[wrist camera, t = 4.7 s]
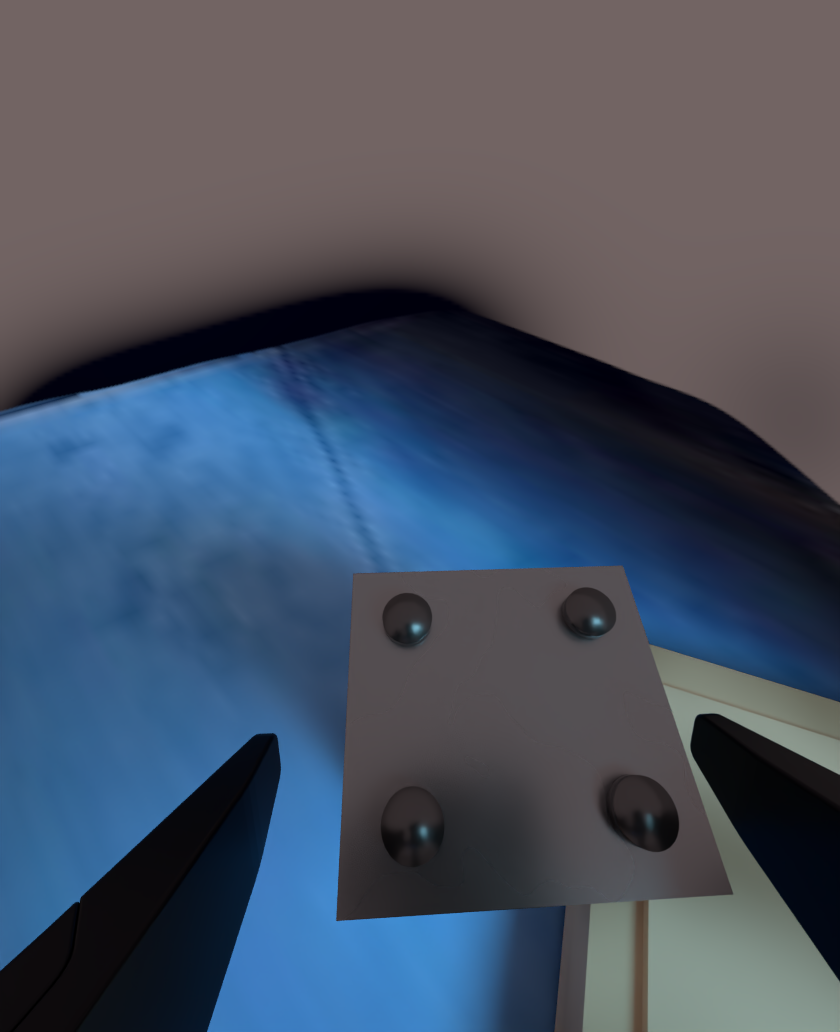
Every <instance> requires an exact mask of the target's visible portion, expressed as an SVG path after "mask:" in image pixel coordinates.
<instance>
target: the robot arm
mask: <svg viewBox="0 0 840 1032" xmlns="http://www.w3.org/2000/svg"><path fill="white" fill-rule="evenodd" d="M690 749H691V753H692V756H693V758H694V760H695V762H696V763H697V765H698V767H699V769H700V770H701V772H702V774H703V775H704V777H705V779H706V780H707V782H708V784H709V786H710V787H711V789H712V791H713V792H714V794H715V796H716V798H717V799H718V801H719V803H720V804H721V806H722V808H723V810H724V811H725V813H726V815H727V816H728V818H729V820H730V821H731V823H732V825H733V826H734V828H735V830H736V831H737V833H738V835H739V836H740V838H741V839H742V841H743V842H744V844H745V845H746V847H747V848H748V850H749V851H750V853H751V854H752V856H753V857H754V859H755V860H756V861H757V863H758V864H759V866H760V867H761V869H762V870H763V872H764V873H765V874H766V876H767V877H768V879H769V880H770V882H771V883H772V885H773V886H774V888H775V889H776V890H777V892H778V893H779V895H780V896H781V898H782V899H783V901H784V902H785V903H786V905H787V906H788V908H789V909H790V911H791V912H792V914H793V915H794V916H795V918H796V919H797V921H798V922H799V924H800V925H801V927H802V928H803V930H804V931H805V932H806V934H807V935H808V937H809V938H810V940H811V941H812V943H813V944H814V945H815V947H816V948H817V950H818V951H819V953H820V954H821V956H822V957H823V958H824V960H825V961H826V963H827V964H828V966H829V967H830V969H831V970H832V972H833V973H834V974H835V976H836V977H837V979H838V980H839V982H840V775H839V774H837V773H835V772H833V771H831V770H829V769H827V768H825V767H823V766H821V765H819V764H817V763H815V762H813V761H811V760H809V759H807V758H805V757H804V756H802V755H800V754H798V753H796V752H794V751H792V750H790V749H788V748H786V747H784V746H782V745H780V744H778V743H776V742H774V741H772V740H770V739H768V738H766V737H764V736H762V735H760V734H758V733H756V732H754V731H752V730H750V729H748V728H746V727H744V726H742V725H740V724H738V723H736V722H734V721H732V720H730V719H728V718H726V717H724V716H722V715H720V714H716V713H708V714H699V715H697V716H696V717H695V720H694V725H693V731H692V736H691V742H690ZM280 773H281V763H280V754H279V746H278V738H277V736H276V735H275V734H274V733H267V734H256V735H255V736H253V737H252V738H251V739H250V740H249V741H248V742H247V743H246V744H245V745H243V746H242V747H241V748H240V749H239V750H238V751H237V752H236V753H235V754H234V755H233V756H232V757H231V758H230V759H228V760H227V761H226V762H225V763H224V764H223V765H222V766H221V767H220V768H219V769H218V770H217V771H216V772H215V773H213V774H212V775H211V776H210V777H209V778H208V779H207V780H206V781H205V782H204V783H203V784H202V785H201V786H200V787H198V788H197V789H196V790H195V791H194V792H193V793H192V794H191V795H190V796H189V797H188V798H187V799H186V800H185V801H183V802H182V803H181V804H180V805H179V806H178V807H177V808H176V809H175V810H174V811H173V812H172V813H171V814H170V815H168V816H167V817H166V818H165V819H164V820H163V821H162V822H161V823H160V824H159V825H158V826H157V827H156V828H155V829H153V830H152V831H151V832H150V833H149V834H148V835H147V836H146V837H145V838H144V839H143V840H142V841H141V842H140V843H138V844H137V845H136V846H135V847H134V848H133V849H132V850H131V851H130V852H129V853H128V854H127V855H126V856H125V857H124V858H122V859H121V860H120V861H119V862H118V863H117V864H116V865H115V866H114V867H113V868H112V869H111V870H110V871H109V872H107V873H106V874H105V875H104V876H103V877H102V878H101V879H100V880H99V881H98V882H97V883H96V884H95V885H94V886H92V887H91V888H90V889H89V890H88V891H87V892H86V893H85V894H84V895H83V896H82V897H81V899H80V903H79V902H75V903H74V904H73V905H72V906H71V907H70V908H69V909H68V910H66V911H65V912H64V913H63V914H62V915H61V916H60V917H59V918H58V919H57V920H56V921H55V922H54V923H53V924H51V925H50V926H49V927H48V928H47V929H46V930H45V931H44V932H43V933H42V934H41V935H39V936H38V937H37V938H36V939H35V940H34V941H33V942H32V943H31V944H30V945H28V946H27V947H26V948H25V949H24V950H23V951H22V952H21V953H20V954H19V955H17V956H16V957H15V958H14V959H13V960H12V961H11V962H10V963H9V964H8V965H6V966H5V967H4V968H3V969H2V970H1V971H0V1032H207V1030H208V1027H209V1024H210V1021H211V1018H212V1014H213V1011H214V1008H215V1005H216V1002H217V999H218V996H219V993H220V990H221V986H222V983H223V980H224V977H225V974H226V971H227V968H228V965H229V962H230V958H231V955H232V952H233V949H234V946H235V943H236V940H237V937H238V934H239V930H240V927H241V924H242V921H243V918H244V915H245V912H246V909H247V906H248V902H249V899H250V896H251V893H252V890H253V887H254V884H255V881H256V877H257V874H258V871H259V867H260V863H261V859H262V855H263V851H264V847H265V842H266V838H267V833H268V829H269V824H270V820H271V815H272V811H273V806H274V802H275V797H276V793H277V788H278V784H279V779H280Z"/></svg>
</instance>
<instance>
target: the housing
mask: <svg viewBox="0 0 840 1032" xmlns="http://www.w3.org/2000/svg"><path fill="white" fill-rule="evenodd" d="M718 895H733V891H732V888H731V885H730V882H729V879H728V876H727V874H726V871H725V868H724V865H723V862H722V859H721V856H720V853H719V850H718V847H717V844H716V841H715V838H714V835H713V832H712V829H711V826H710V823H709V820H708V817H707V814H706V811H705V808H704V805H703V802H702V799H701V796H700V793H699V791H698V788H697V785H696V782H695V779H694V776H693V773H692V770H691V767H690V764H689V761H688V758H687V755H686V752H685V749H684V746H683V743H682V740H681V737H680V734H679V731H678V728H677V725H676V722H675V719H674V716H673V713H672V710H671V708H670V705H669V702H668V699H667V696H666V693H665V690H664V687H663V684H662V681H661V678H660V675H659V672H658V669H657V666H656V663H655V660H654V657H653V654H652V651H651V648H650V645H649V642H648V639H647V636H646V633H645V630H644V627H643V625H642V622H641V619H640V616H639V613H638V610H637V607H636V604H635V601H634V598H633V595H632V592H631V589H630V586H629V583H628V580H627V577H626V574H625V571H624V568H623V566H598V567H563V568H529V569H495V570H460V571H426V572H391V573H357V574H353V592H352V613H351V633H350V653H349V674H348V694H347V714H346V734H345V755H344V775H343V795H342V816H341V836H340V856H339V877H338V897H337V917H336V921H342V920H357V919H372V918H387V917H402V916H417V915H433V914H448V913H463V912H478V911H493V910H508V909H523V908H538V907H553V906H568V905H583V904H598V903H613V902H628V901H643V900H658V899H673V898H688V897H703V896H718Z"/></svg>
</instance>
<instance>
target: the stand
mask: <svg viewBox="0 0 840 1032" xmlns="http://www.w3.org/2000/svg"><path fill="white" fill-rule="evenodd" d="M649 645H650V644H649ZM650 648H651V651H652V654H653V657H654V660H655V663H656V666H657V669H658V672H659V675H660V678H661V681H662V684H663V687H664V690H665V693H666V696H667V699H668V702H669V705H670V708H671V710H672V713H673V716H674V719H675V722H676V725H677V728H678V731H679V734H680V737H681V740H682V743H683V746H684V749H685V752H686V755H687V758H688V761H689V764H690V767H691V770H692V773H693V776H694V779H695V782H696V785H697V788H698V791H699V793H700V796H701V799H702V802H703V805H704V808H705V811H706V814H707V817H708V820H709V823H710V826H711V829H712V832H713V835H714V838H715V841H716V844H717V847H718V850H719V853H720V856H721V859H722V862H723V865H724V868H725V871H726V874H727V876H728V879H729V882H730V885H731V888H732V891H733V895H718V896H703V897H688V898H673V899H658V900H643V901H628V902H613V903H598V904H583V905H568V906H566V909H565V920H564V931H563V942H562V954H561V965H560V976H559V987H558V999H557V1010H556V1021H555V1032H840V982H839V980H838V979H837V977H836V976H835V974H834V973H833V972H832V970H831V969H830V967H829V966H828V964H827V963H826V961H825V960H824V958H823V957H822V956H821V954H820V953H819V951H818V950H817V948H816V947H815V945H814V944H813V943H812V941H811V940H810V938H809V937H808V935H807V934H806V932H805V931H804V930H803V928H802V927H801V925H800V924H799V922H798V921H797V919H796V918H795V916H794V915H793V914H792V912H791V911H790V909H789V908H788V906H787V905H786V903H785V902H784V901H783V899H782V898H781V896H780V895H779V893H778V892H777V890H776V889H775V888H774V886H773V885H772V883H771V882H770V880H769V879H768V877H767V876H766V874H765V873H764V872H763V870H762V869H761V867H760V866H759V864H758V863H757V861H756V860H755V859H754V857H753V856H752V854H751V853H750V851H749V850H748V848H747V847H746V845H745V844H744V842H743V841H742V839H741V838H740V836H739V835H738V833H737V831H736V830H735V828H734V826H733V825H732V823H731V821H730V820H729V818H728V816H727V815H726V813H725V811H724V810H723V808H722V806H721V804H720V803H719V801H718V799H717V798H716V796H715V794H714V792H713V791H712V789H711V787H710V786H709V784H708V782H707V780H706V779H705V777H704V775H703V774H702V772H701V770H700V769H699V767H698V765H697V763H696V762H695V760H694V758H693V756H692V753H691V749H690V742H691V736H692V731H693V725H694V720H695V717H696V716H697V715H699V714H708V713H716V714H720V715H722V716H724V717H726V718H728V719H730V720H732V721H734V722H736V723H738V724H740V725H742V726H744V727H746V728H748V729H750V730H752V731H754V732H756V733H758V734H760V735H762V736H764V737H766V738H768V739H770V740H772V741H774V742H776V743H778V744H780V745H782V746H784V747H786V748H788V749H790V750H792V751H794V752H796V753H798V754H800V755H802V756H804V757H805V758H807V759H809V760H811V761H813V762H815V763H817V764H819V765H821V766H823V767H825V768H827V769H829V770H831V771H833V772H835V773H837V774H839V775H840V702H837V701H834V700H831V699H827V698H824V697H821V696H818V695H814V694H811V693H808V692H805V691H801V690H798V689H795V688H791V687H788V686H785V685H782V684H778V683H775V682H772V681H768V680H765V679H762V678H759V677H755V676H752V675H749V674H745V673H742V672H739V671H736V670H732V669H729V668H726V667H723V666H719V665H716V664H713V663H709V662H706V661H703V660H700V659H696V658H693V657H690V656H686V655H683V654H680V653H677V652H673V651H670V650H667V649H663V648H660V647H657V646H654V645H650Z"/></svg>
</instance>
